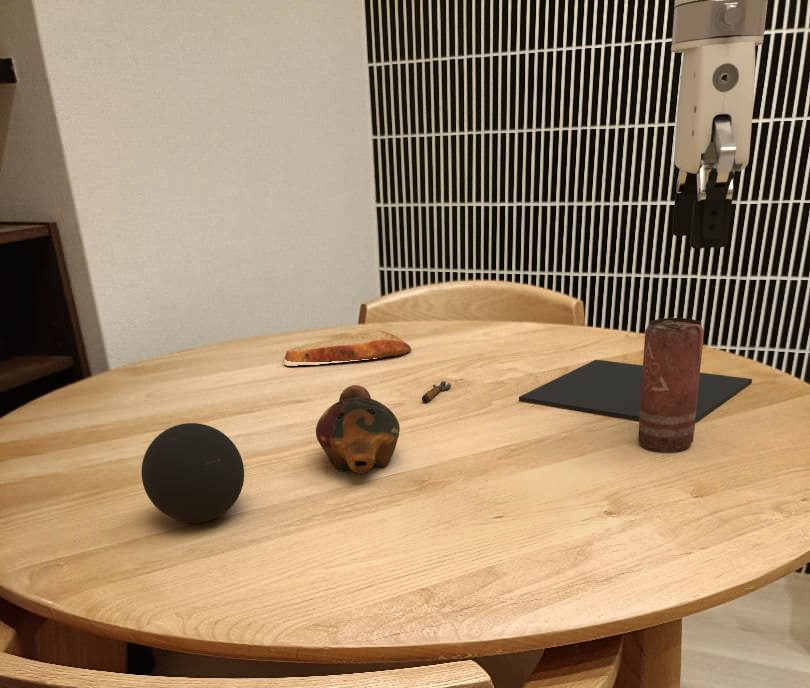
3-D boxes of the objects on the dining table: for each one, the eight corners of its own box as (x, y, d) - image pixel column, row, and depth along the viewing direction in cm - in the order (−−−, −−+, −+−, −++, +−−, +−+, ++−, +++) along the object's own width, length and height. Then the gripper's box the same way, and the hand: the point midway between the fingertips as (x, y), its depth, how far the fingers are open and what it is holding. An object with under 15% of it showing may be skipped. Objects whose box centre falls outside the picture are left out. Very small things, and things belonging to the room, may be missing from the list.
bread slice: (274, 365, 139) (271, 343, 138) (340, 341, 152) (338, 321, 150) (357, 376, 130) (355, 353, 128) (420, 349, 143) (419, 328, 141)
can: (686, 456, 91) (698, 330, 85) (630, 448, 94) (638, 326, 88) (701, 439, 95) (714, 318, 89) (647, 432, 99) (656, 314, 92)
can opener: (428, 403, 114) (427, 395, 114) (413, 402, 115) (413, 394, 115) (454, 386, 122) (454, 378, 121) (440, 385, 123) (440, 377, 122)
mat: (751, 383, 114) (752, 378, 113) (687, 429, 99) (687, 424, 99) (595, 363, 128) (595, 359, 128) (518, 400, 113) (518, 396, 113)
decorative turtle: (389, 437, 103) (389, 375, 99) (411, 490, 90) (411, 422, 86) (312, 442, 102) (308, 380, 98) (323, 497, 89) (319, 428, 85)
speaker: (230, 541, 79) (213, 443, 75) (135, 538, 81) (112, 443, 77) (263, 499, 88) (250, 409, 84) (177, 497, 90) (159, 410, 85)
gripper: (794, 13, 62) (763, 251, 70) (738, 34, 78) (718, 228, 86) (692, 21, 63) (673, 256, 71) (657, 41, 79) (644, 232, 87)
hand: (697, 240), depth 78 cm, fingers open, 8 cm apart
